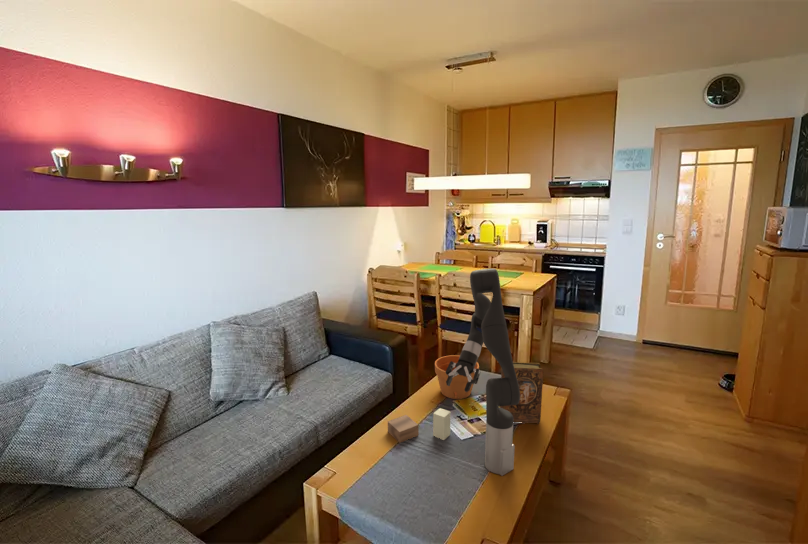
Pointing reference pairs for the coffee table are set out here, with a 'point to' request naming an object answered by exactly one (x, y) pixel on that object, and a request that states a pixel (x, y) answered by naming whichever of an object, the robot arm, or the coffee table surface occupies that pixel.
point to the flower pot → (457, 382)
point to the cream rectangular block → (441, 423)
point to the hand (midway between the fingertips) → (456, 388)
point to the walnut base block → (403, 428)
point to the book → (527, 393)
